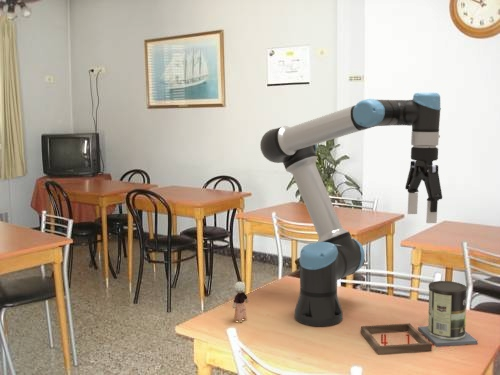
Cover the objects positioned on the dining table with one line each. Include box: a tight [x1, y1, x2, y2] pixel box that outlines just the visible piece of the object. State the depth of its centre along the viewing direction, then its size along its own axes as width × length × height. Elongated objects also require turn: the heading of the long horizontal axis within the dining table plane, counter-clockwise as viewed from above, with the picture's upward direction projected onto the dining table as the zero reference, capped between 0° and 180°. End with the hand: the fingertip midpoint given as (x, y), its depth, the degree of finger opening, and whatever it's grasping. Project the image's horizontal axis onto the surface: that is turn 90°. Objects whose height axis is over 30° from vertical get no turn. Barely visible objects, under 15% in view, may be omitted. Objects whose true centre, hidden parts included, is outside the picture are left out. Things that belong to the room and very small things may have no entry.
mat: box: [417, 325, 478, 348], centre depth 156 cm, size 12×12×1 cm
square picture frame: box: [360, 322, 433, 355], centre depth 153 cm, size 15×15×2 cm
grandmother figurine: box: [232, 281, 249, 323], centre depth 170 cm, size 8×4×13 cm, turn 156°
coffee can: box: [427, 280, 468, 340], centre depth 155 cm, size 10×10×14 cm
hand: (421, 218), depth 160 cm, fingers open, 13 cm apart
